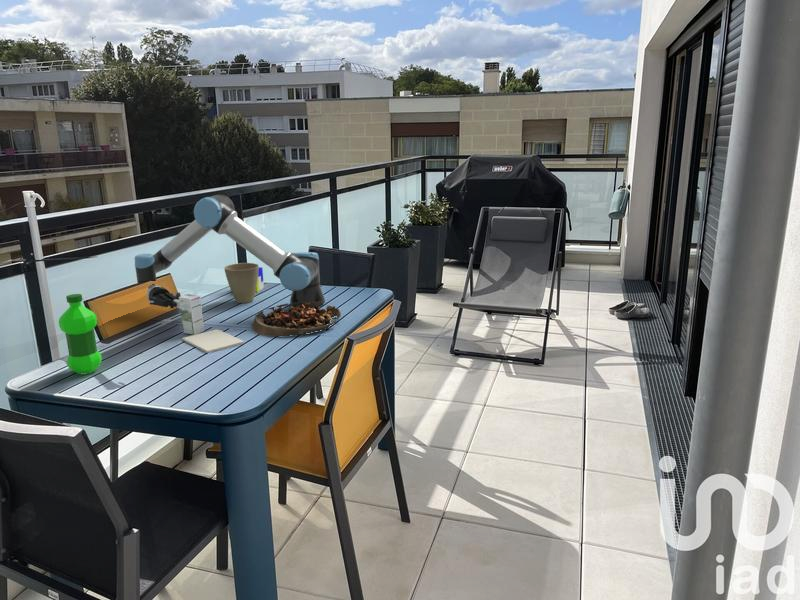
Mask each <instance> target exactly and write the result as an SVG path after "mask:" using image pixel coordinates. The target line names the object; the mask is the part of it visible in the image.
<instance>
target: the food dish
mask: <svg viewBox="0 0 800 600" xmlns="http://www.w3.org/2000/svg"><path fill="white" fill-rule="evenodd" d="M288 305H289V303H283V304H280V305H276V306H275V307H274V306H272V307H267V308H266V309H265V311H267V310H272V312H268V313H267V315H265V314H264V310H260V311H259V312H257V314H255V316H254V319H253V322H252V324H251V327H252V329H251V330H252V331H253V332H254V333H255V334H257V335H259V336H262V335H263V336H265V337H266V336H267V335H268V336H269V337H277V336H290V335H299V336H301V335H300V334H305V335H307V334H306V333H311V332H315V331H320V330H323V331H325V330H326V329H325V328H328V329H329V328H330V327H331V326H330V325H332V324H333V325H334V324H337V321H338V320H339V319H340V318H341V313H342V312H341V311H340V309H338V308H336V307H335V306H332V305H327V306H326V308H325V309H324V308H322V309H320V307H321V306H320V305H322V303H318V304H316V305H314V306H315V307H314V308H312V306H311V305H310V302H301V303H299V305H297V306H296V307H291V306H290V308H289V309H288V310H286V309H285V310H284V308H283V307H285V306H288ZM304 305H305V307H304ZM301 306H302V307H301ZM319 306H320V307H319ZM322 306H323V305H322ZM334 316H337V319H336V320H331V318H332V317H334ZM330 320H331V321H332V323H330ZM327 324H328V325H327ZM329 326H330V327H329ZM324 329H325V330H324ZM268 336H267V337H268ZM290 337H291V336H290Z"/></svg>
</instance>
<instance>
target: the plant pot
mask: <svg viewBox="0 0 800 600" xmlns="http://www.w3.org/2000/svg"><path fill="white" fill-rule="evenodd" d="M259 267H260V265H259V264H258V263H253V262H240V263H232V264H228V265H226V266H224V267H223V268H224V273H225V277H226V281H227V283H228V285H229V289H230V291H231V293H232V296H233V298H234V300H235V301H236V303H237V304H238V303H239V304H248V303H251V302H253V301H254V299H255V296H256V293H257V292H256V287H257V281H258V270H259Z"/></svg>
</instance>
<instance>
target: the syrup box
mask: <svg viewBox="0 0 800 600" xmlns="http://www.w3.org/2000/svg"><path fill="white" fill-rule="evenodd" d="M179 304H180V309H179V310H180V316H181V317H180V319H181V326H182V333H183V334H184V335H190V336H192V335H196V334H201V333H204V332H205V325H204V317H203V308H202V299H201V294H196V293H195V294H193V293H185V294H183V295H181V296H180V297H179Z"/></svg>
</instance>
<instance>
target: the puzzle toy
mask: <svg viewBox="0 0 800 600" xmlns="http://www.w3.org/2000/svg"><path fill="white" fill-rule="evenodd" d="M263 288H265V285H264V270H263V267H260V266H259V270H258V281H257V287H256V292H255V293H259V292H260V291H261V290H262V289H263Z"/></svg>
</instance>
